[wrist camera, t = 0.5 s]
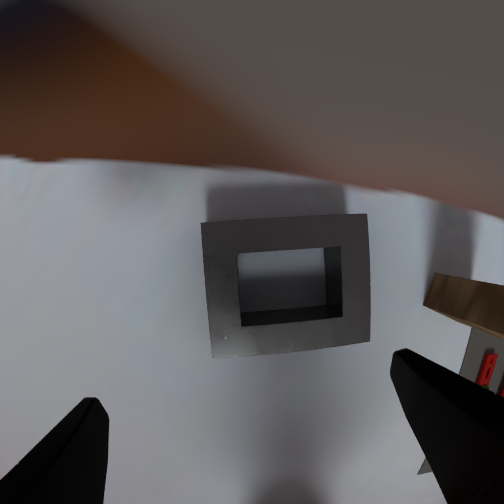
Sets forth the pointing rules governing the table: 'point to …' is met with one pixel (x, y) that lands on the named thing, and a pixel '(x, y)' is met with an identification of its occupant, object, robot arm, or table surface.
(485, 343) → the gear board
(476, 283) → the brown wooden block
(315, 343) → the grey block holder
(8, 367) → the table surface
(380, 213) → the table surface
